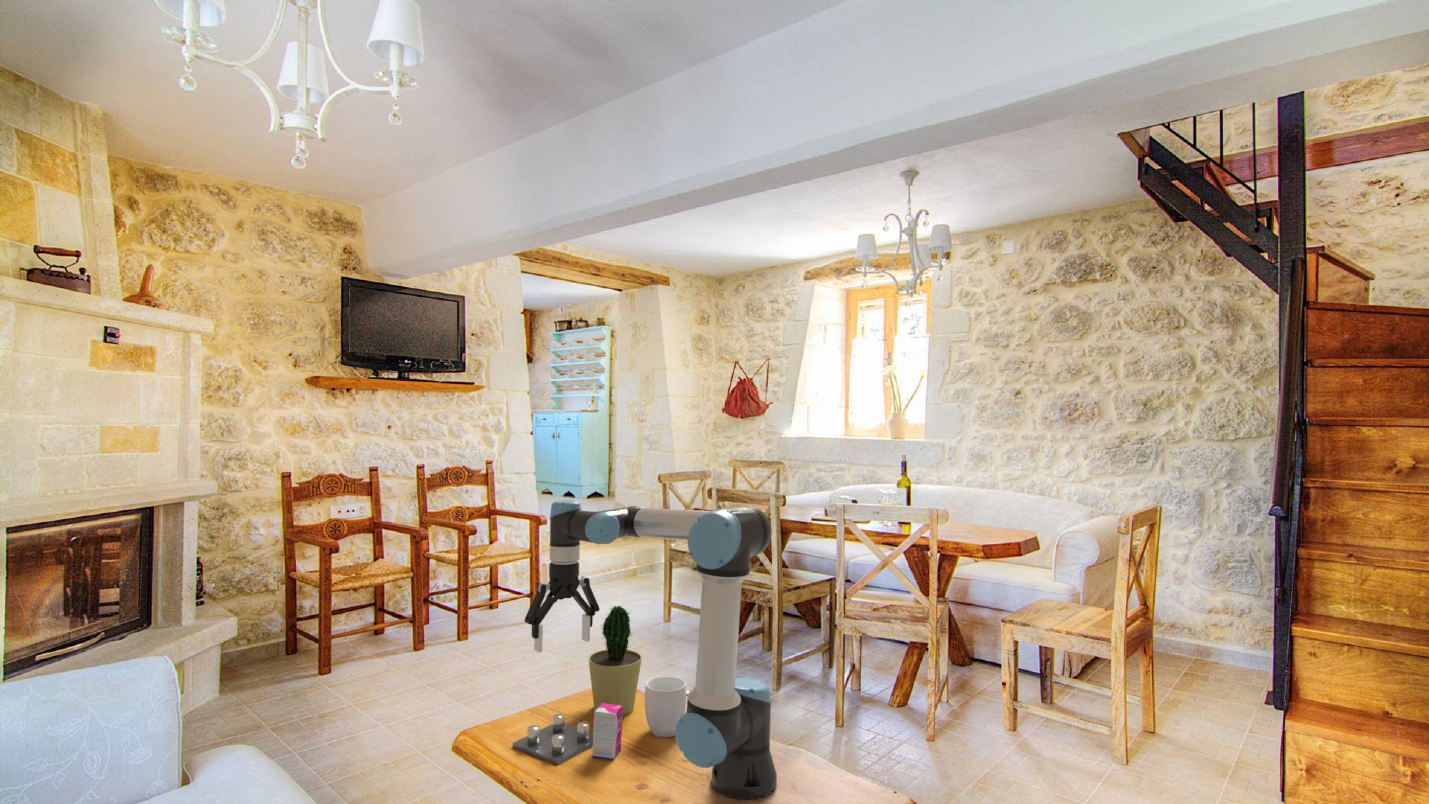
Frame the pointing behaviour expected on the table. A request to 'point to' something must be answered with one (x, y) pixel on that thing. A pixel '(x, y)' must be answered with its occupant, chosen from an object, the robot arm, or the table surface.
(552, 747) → the chassis
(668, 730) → the mug
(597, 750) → the supplement box
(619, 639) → the potted cactus
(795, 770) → the table surface
